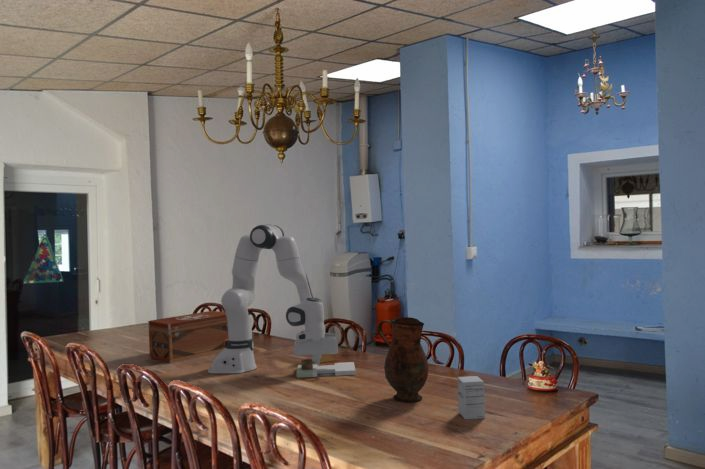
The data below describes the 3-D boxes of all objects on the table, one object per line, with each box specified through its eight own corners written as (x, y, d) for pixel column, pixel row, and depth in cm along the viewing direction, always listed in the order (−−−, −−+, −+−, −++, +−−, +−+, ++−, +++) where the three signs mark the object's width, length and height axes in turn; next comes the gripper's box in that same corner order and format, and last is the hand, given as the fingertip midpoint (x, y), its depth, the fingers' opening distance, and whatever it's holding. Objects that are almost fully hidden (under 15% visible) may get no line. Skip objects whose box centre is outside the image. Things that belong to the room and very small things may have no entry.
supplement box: (458, 413, 208) (456, 376, 208) (479, 411, 209) (477, 375, 209) (463, 419, 201) (462, 382, 201) (485, 418, 201) (484, 380, 201)
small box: (320, 363, 290) (318, 336, 290) (313, 361, 296) (312, 334, 295) (334, 360, 295) (333, 334, 295) (327, 358, 300) (326, 332, 300)
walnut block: (301, 370, 270) (301, 361, 270) (301, 367, 275) (301, 358, 275) (312, 369, 270) (312, 360, 270) (312, 366, 275) (312, 358, 275)
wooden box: (236, 349, 333) (234, 313, 332) (170, 363, 302) (168, 324, 302) (214, 345, 346) (212, 310, 346) (149, 358, 316) (147, 320, 316)
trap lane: (296, 377, 265) (296, 373, 265) (298, 369, 281) (297, 364, 281) (355, 374, 266) (355, 370, 266) (353, 366, 282) (353, 362, 282)
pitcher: (413, 408, 216) (410, 324, 215) (367, 398, 230) (364, 319, 229) (439, 396, 228) (436, 317, 227) (394, 388, 242) (391, 313, 242)
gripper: (338, 331, 277) (339, 361, 277) (293, 333, 275) (294, 363, 276) (338, 333, 270) (339, 364, 270) (292, 336, 269) (294, 367, 269)
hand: (316, 364), depth 273 cm, fingers closed
